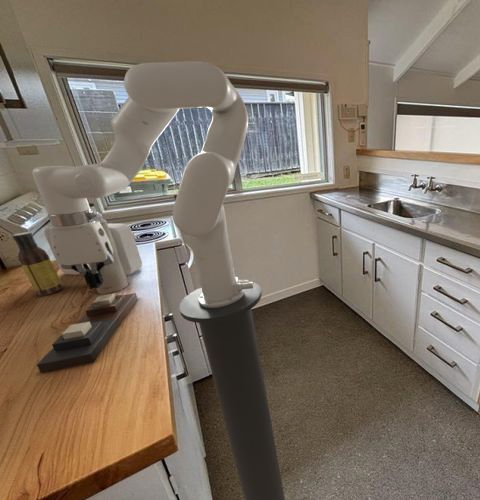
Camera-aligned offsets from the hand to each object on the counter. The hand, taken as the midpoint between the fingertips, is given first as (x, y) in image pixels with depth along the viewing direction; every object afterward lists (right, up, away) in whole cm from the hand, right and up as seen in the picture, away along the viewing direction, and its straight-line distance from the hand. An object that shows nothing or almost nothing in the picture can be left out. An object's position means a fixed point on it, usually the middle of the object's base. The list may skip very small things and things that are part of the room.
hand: (96, 286), depth 75 cm
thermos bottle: (-11, -3, +18) cm, 22 cm away
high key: (+5, -10, -10) cm, 15 cm away
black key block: (+5, -13, -9) cm, 17 cm away
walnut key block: (+1, -8, +3) cm, 9 cm away
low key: (+1, -5, +2) cm, 6 cm away
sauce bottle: (-31, -4, +17) cm, 35 cm away
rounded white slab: (-25, +1, +31) cm, 40 cm away
